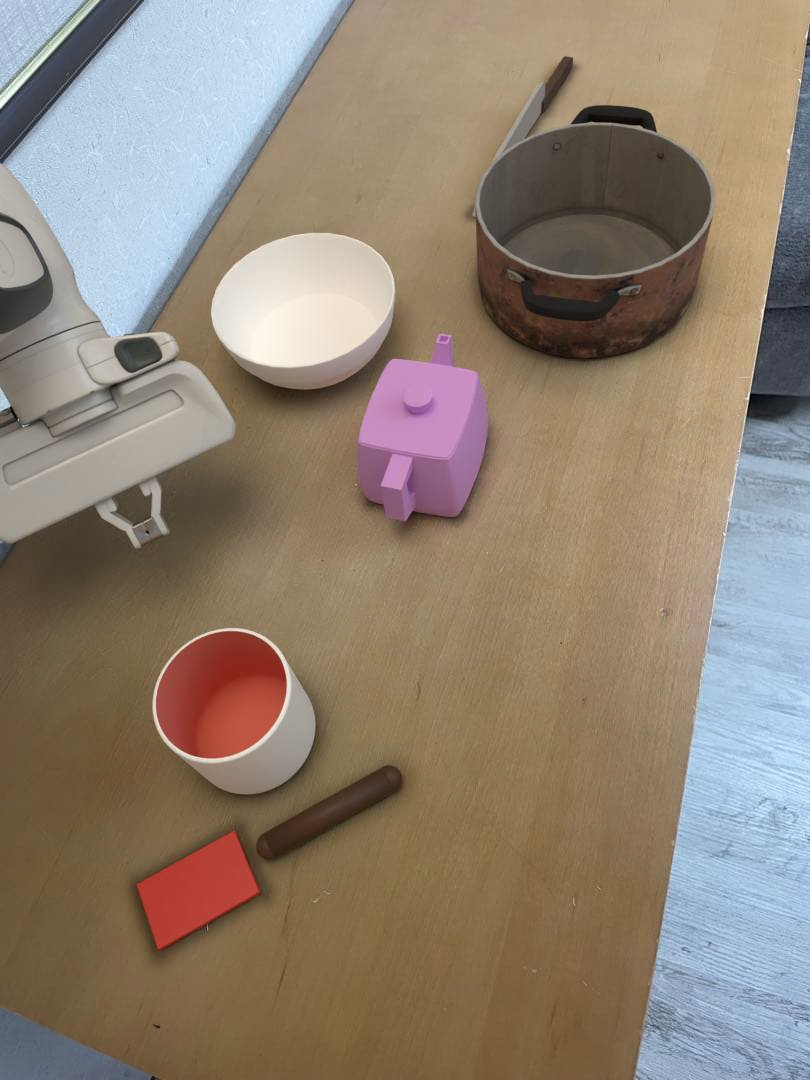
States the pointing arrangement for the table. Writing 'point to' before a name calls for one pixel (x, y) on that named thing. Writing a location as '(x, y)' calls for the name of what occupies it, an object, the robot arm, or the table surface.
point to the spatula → (244, 862)
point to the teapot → (423, 436)
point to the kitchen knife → (536, 106)
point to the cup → (234, 711)
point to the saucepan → (592, 234)
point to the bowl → (305, 309)
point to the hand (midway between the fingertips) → (153, 540)
